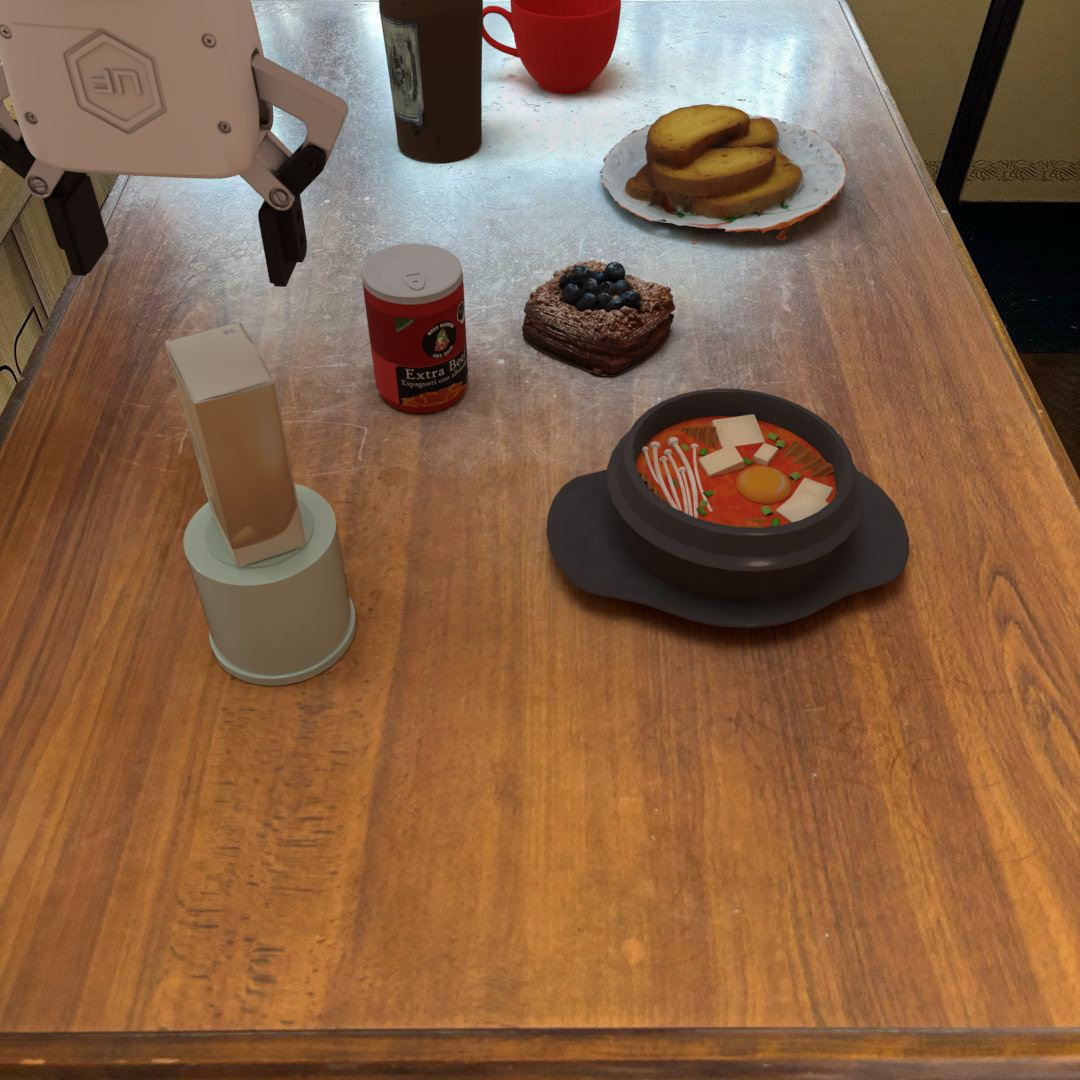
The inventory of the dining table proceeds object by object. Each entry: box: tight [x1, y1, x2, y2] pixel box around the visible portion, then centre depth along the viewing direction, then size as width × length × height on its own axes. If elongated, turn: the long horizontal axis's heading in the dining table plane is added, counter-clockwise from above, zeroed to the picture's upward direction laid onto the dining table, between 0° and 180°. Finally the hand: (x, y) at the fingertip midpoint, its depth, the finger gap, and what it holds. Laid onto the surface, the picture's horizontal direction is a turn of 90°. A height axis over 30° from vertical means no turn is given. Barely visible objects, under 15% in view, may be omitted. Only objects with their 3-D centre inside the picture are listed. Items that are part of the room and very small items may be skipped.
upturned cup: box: [182, 483, 357, 687], centre depth 69 cm, size 9×9×9 cm
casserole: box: [546, 387, 910, 629], centre depth 75 cm, size 25×19×8 cm
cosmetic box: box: [164, 321, 306, 567], centre depth 62 cm, size 6×4×12 cm
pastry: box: [521, 259, 676, 377], centre depth 95 cm, size 11×12×6 cm
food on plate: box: [599, 103, 849, 245], centre depth 114 cm, size 25×25×7 cm
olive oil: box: [378, 0, 484, 163], centre depth 115 cm, size 11×11×25 cm
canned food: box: [361, 243, 469, 414], centre depth 87 cm, size 8×8×11 cm
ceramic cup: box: [482, 0, 622, 95], centre depth 132 cm, size 13×17×10 cm
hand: (188, 266), depth 54 cm, fingers open, 9 cm apart
